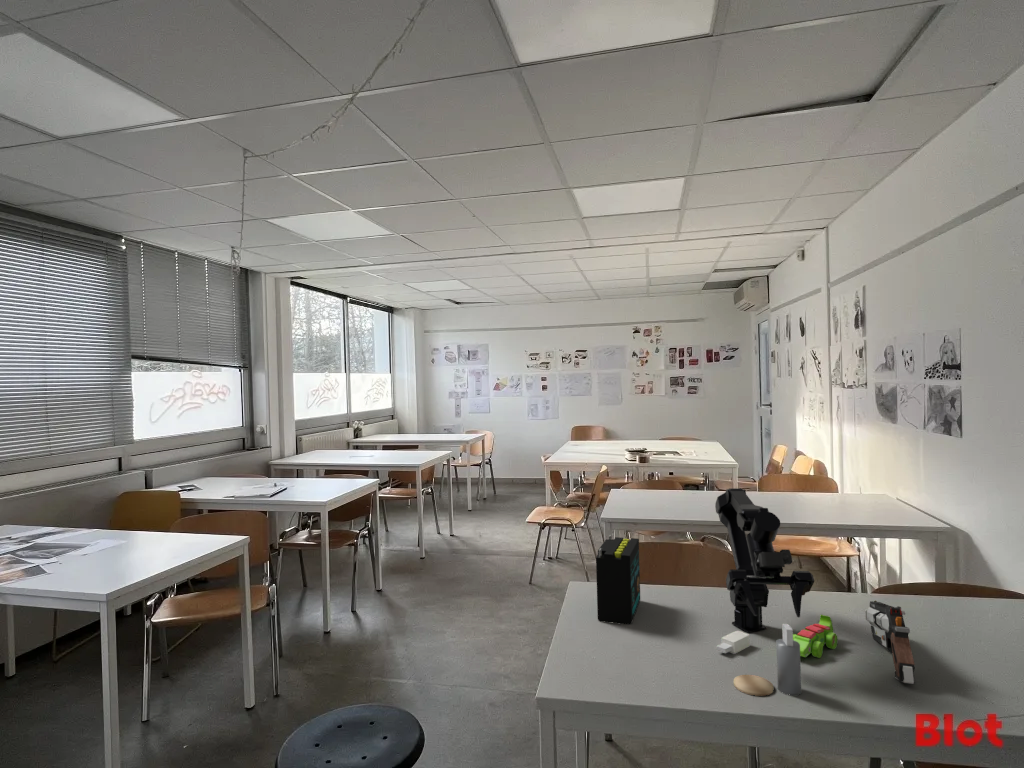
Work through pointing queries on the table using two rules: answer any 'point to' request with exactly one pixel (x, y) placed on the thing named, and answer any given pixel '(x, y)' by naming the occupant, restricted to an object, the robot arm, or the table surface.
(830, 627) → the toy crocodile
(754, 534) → the robot arm
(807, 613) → the table surface
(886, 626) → the toy gun
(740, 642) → the small lying plug
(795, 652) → the grey plug
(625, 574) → the battery
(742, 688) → the cork coaster
